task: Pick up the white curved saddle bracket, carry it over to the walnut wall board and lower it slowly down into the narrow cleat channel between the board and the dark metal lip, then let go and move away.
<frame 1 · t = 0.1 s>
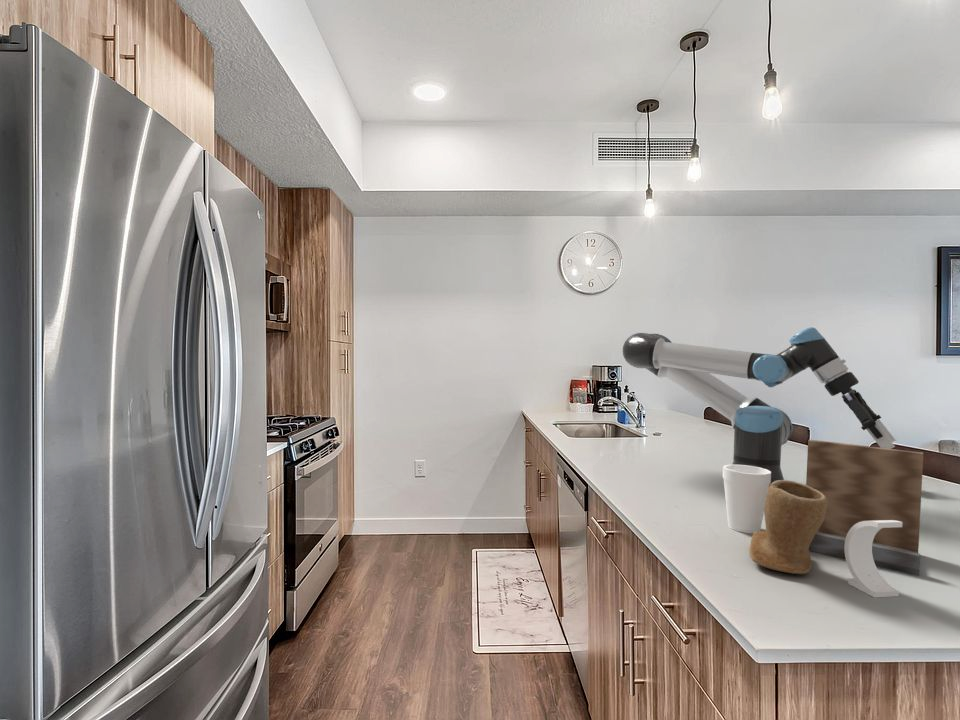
hand: (890, 445, 139), 15 cm above the countertop, tool tilted 35°, fingers open, 13 cm apart
foam cup: (744, 529, 116), on the countertop
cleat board: (856, 551, 104), on the countertop
white curved saddle bracket: (869, 589, 88), on the countertop
tan suede boot: (785, 564, 97), on the countertop
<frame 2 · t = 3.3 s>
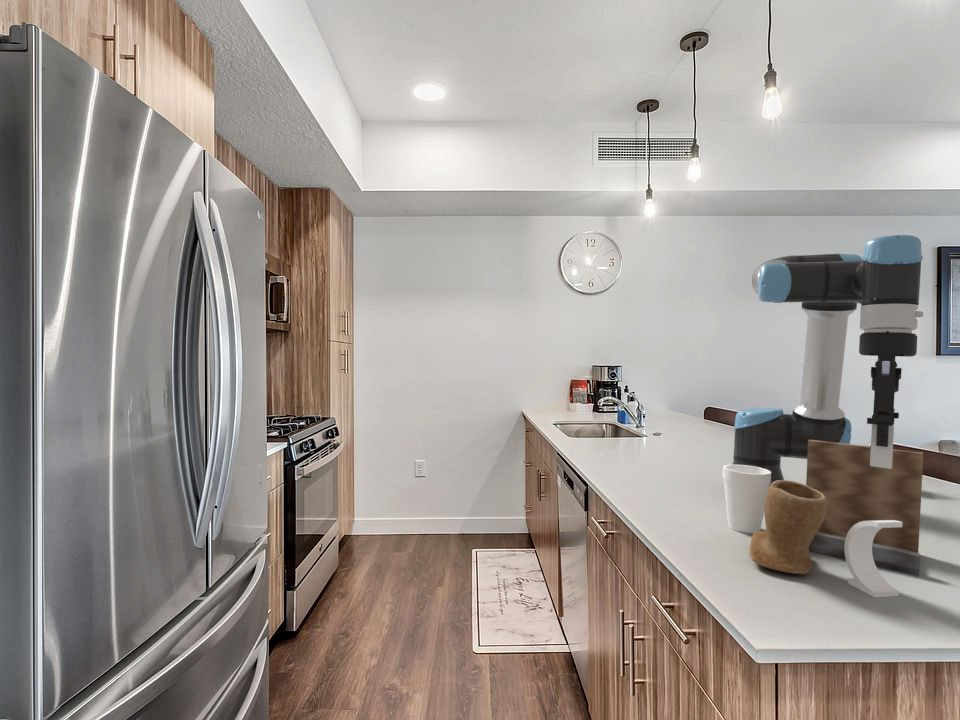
hand: (881, 461, 87), 21 cm above the countertop, tool pointing down, fingers open, 13 cm apart
nothing on the countertop moved.
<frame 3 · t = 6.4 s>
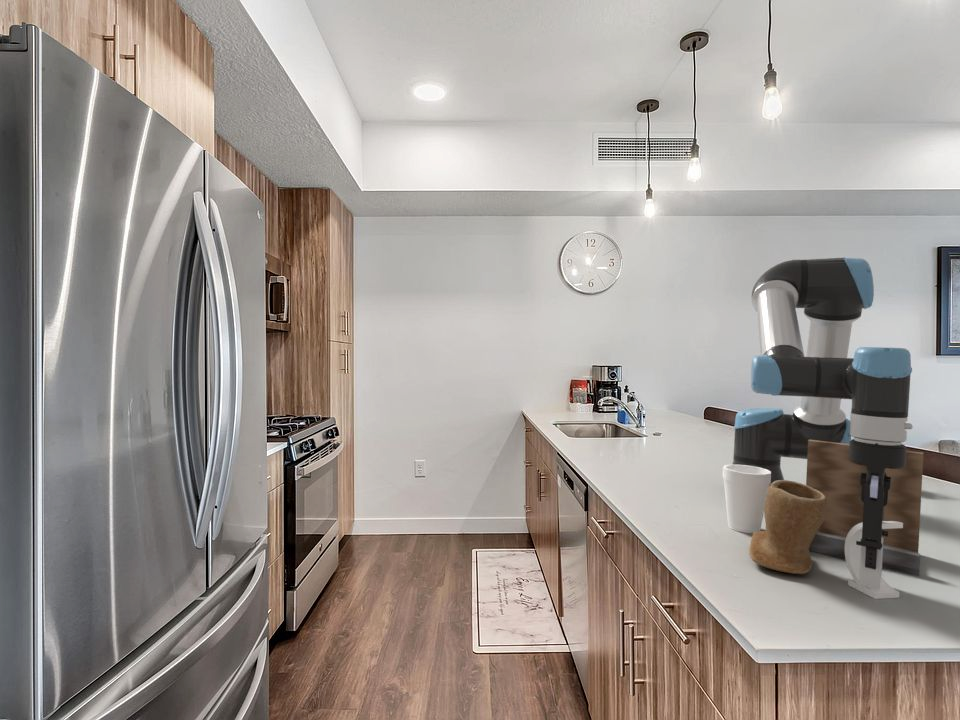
hand: (870, 579, 88), 1 cm above the countertop, tool pointing down, fingers closed on white curved saddle bracket, 6 cm apart
white curved saddle bracket: (870, 590, 87), on the countertop, touching gripper
everything else where it was.
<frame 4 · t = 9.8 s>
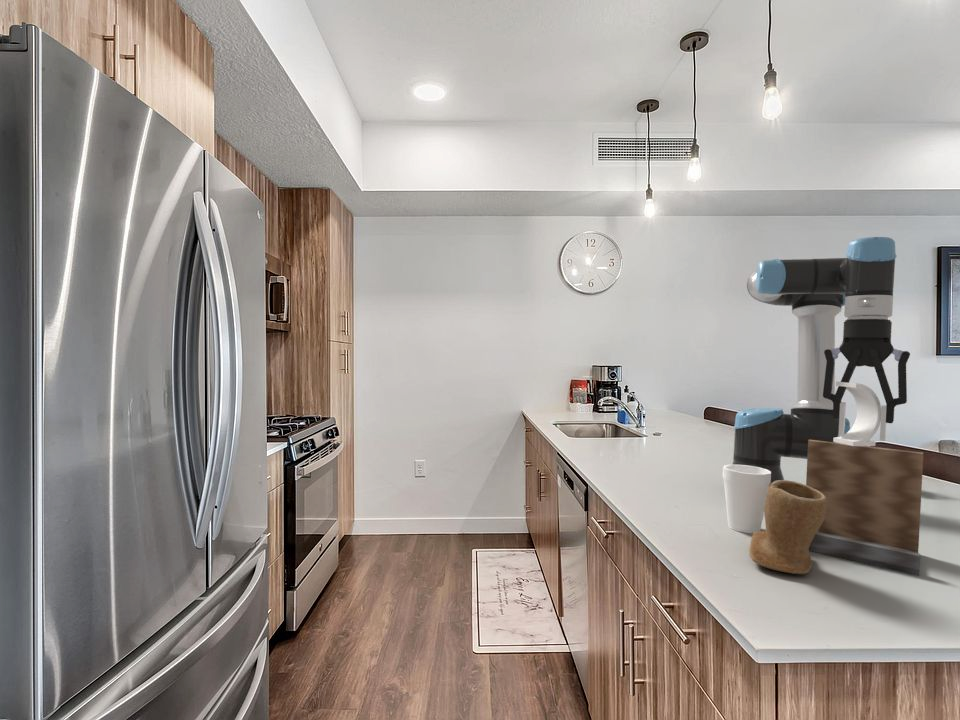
hand: (861, 437, 103), 23 cm above the countertop, tool pointing down, fingers closed on white curved saddle bracket, 6 cm apart
white curved saddle bracket: (856, 444, 104), point 21 cm above the countertop, touching gripper
everything else where it was.
when the fingers open (4 cm above the countertop, at t = 13.2 s): white curved saddle bracket drops 1 cm, resting on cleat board.
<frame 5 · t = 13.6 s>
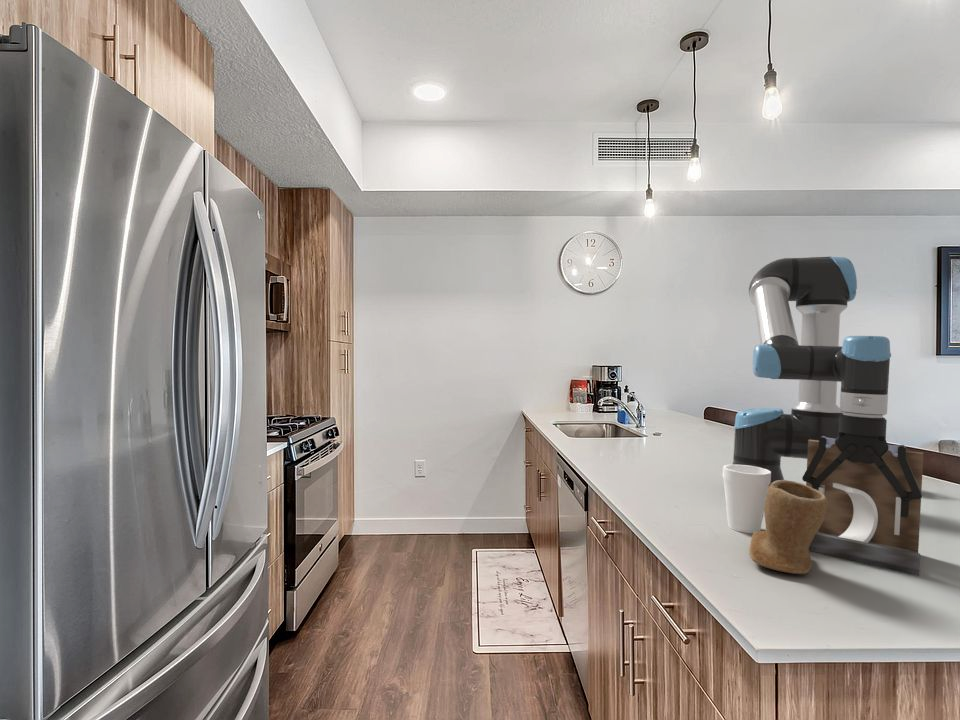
hand: (857, 525, 104), 5 cm above the countertop, tool pointing down, fingers open, 11 cm apart
white curved saddle bracket: (852, 547, 104), point 1 cm above the countertop, touching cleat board
everything else where it was.
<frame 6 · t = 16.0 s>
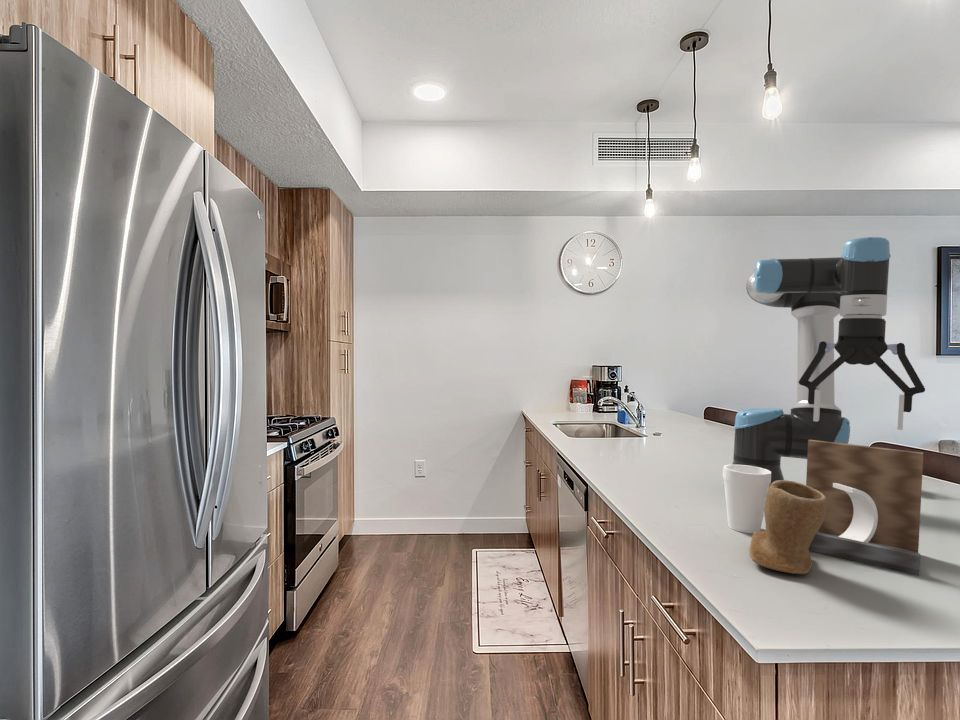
hand: (856, 424, 105), 25 cm above the countertop, tool pointing down, fingers open, 13 cm apart
nothing on the countertop moved.
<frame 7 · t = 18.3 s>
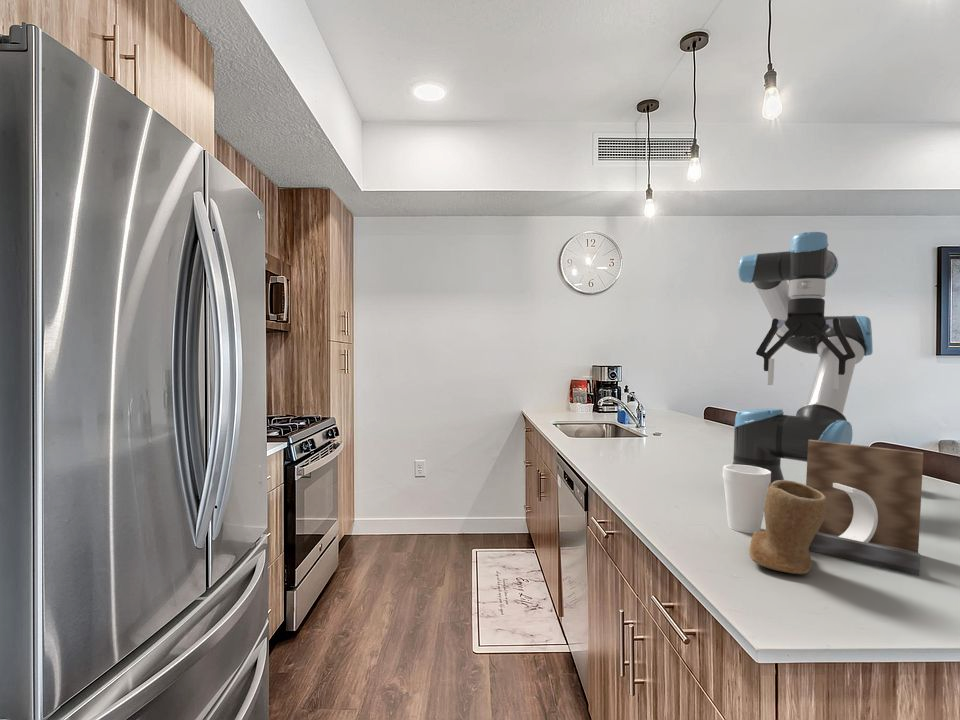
hand: (802, 387, 127), 31 cm above the countertop, tool pointing down, fingers open, 13 cm apart
nothing on the countertop moved.
at the end: white curved saddle bracket inside the target area on the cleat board (0.9 cm from its centre), point 0.8 cm above the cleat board's base; white curved saddle bracket tilted 0°; the gripper is holding nothing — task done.
